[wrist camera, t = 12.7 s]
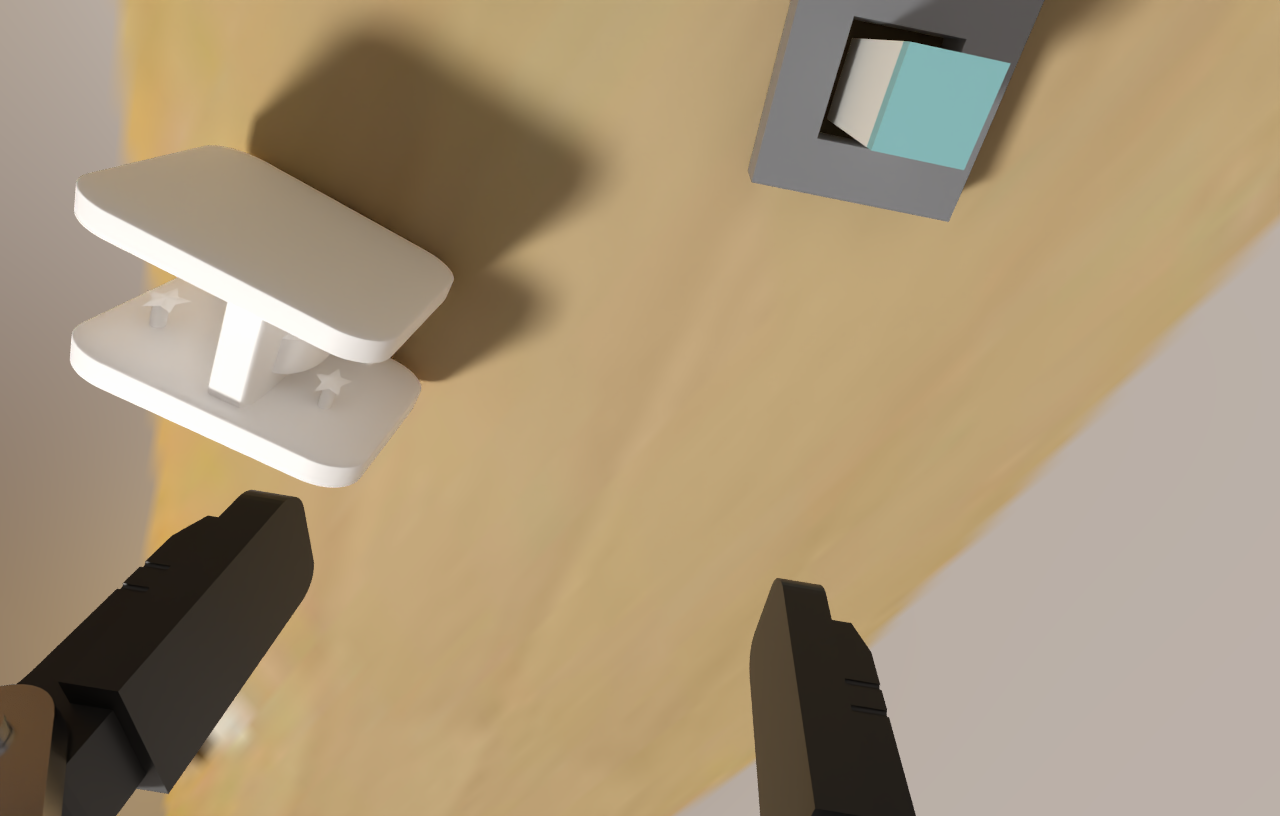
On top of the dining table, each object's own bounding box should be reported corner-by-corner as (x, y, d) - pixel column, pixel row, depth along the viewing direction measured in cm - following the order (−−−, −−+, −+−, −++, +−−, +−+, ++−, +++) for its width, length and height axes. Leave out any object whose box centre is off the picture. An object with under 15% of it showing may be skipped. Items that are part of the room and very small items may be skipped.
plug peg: (852, 38, 30) (910, 41, 22) (924, 53, 30) (1010, 63, 22) (826, 118, 32) (871, 150, 24) (895, 133, 32) (964, 170, 24)
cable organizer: (480, 271, 38) (402, 358, 28) (422, 399, 43) (338, 510, 33) (234, 134, 35) (48, 176, 25) (203, 288, 40) (38, 374, 30)
